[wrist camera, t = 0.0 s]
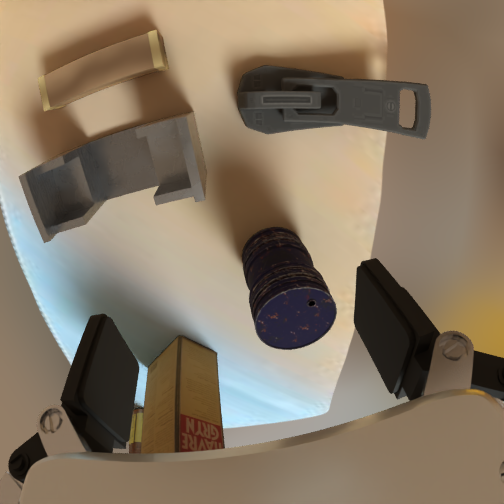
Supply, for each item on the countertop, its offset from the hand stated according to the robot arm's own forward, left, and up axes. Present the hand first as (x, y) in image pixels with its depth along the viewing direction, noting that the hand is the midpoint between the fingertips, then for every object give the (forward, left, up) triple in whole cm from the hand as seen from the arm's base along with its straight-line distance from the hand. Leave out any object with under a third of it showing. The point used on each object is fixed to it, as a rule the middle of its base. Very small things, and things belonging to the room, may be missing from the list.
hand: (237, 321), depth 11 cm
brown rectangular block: (-15, -12, -31) cm, 37 cm away
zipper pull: (-5, +16, -32) cm, 36 cm away
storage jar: (+17, +5, -31) cm, 36 cm away
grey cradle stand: (-2, -12, -31) cm, 33 cm away
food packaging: (+37, -16, -31) cm, 51 cm away
